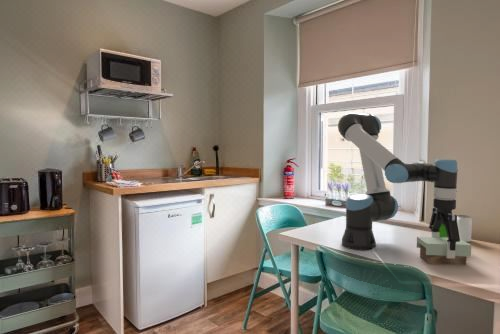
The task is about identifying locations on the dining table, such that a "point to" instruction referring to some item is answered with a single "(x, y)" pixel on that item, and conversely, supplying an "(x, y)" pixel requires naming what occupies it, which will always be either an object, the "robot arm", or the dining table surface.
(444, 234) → the cup
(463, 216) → the can
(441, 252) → the lid
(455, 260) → the box
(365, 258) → the dining table surface
